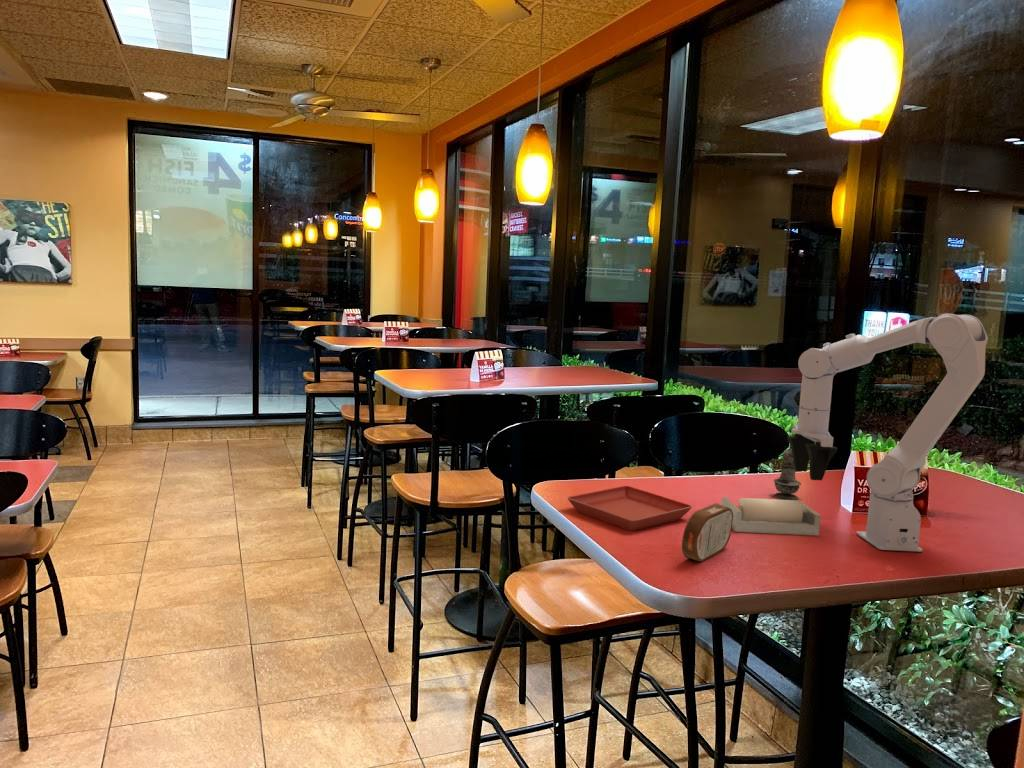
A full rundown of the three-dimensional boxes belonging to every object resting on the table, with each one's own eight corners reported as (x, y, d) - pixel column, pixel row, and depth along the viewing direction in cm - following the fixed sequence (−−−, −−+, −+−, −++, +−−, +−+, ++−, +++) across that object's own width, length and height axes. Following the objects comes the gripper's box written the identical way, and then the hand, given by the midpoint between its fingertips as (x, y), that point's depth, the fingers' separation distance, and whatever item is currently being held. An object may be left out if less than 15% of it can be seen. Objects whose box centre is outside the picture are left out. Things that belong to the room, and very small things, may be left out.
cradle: (818, 535, 146) (820, 515, 145) (734, 531, 146) (736, 511, 145) (798, 519, 156) (800, 500, 155) (720, 516, 156) (721, 497, 155)
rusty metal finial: (795, 494, 176) (800, 443, 175) (802, 501, 170) (808, 448, 169) (769, 492, 177) (774, 441, 175) (775, 499, 171) (780, 446, 170)
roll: (803, 528, 148) (804, 502, 148) (743, 525, 148) (744, 499, 148) (793, 523, 153) (795, 498, 153) (735, 520, 153) (737, 495, 153)
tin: (717, 543, 138) (721, 498, 137) (733, 547, 136) (737, 501, 135) (678, 563, 127) (682, 514, 126) (695, 568, 125) (700, 518, 124)
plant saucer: (631, 537, 141) (633, 519, 140) (564, 512, 154) (565, 496, 154) (693, 522, 152) (694, 505, 152) (625, 500, 166) (626, 485, 166)
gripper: (781, 402, 160) (775, 466, 162) (810, 413, 146) (803, 483, 147) (814, 403, 160) (808, 467, 162) (846, 415, 146) (839, 484, 148)
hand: (808, 475), depth 155 cm, fingers open, 7 cm apart
